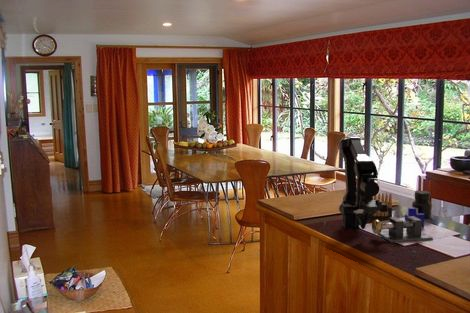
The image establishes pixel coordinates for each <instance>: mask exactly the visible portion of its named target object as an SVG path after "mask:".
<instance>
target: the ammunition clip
mask: <svg viewBox="0 0 470 313" xmlns="http://www.w3.org/2000/svg"><path fill="white" fill-rule="evenodd" d="M392 199H393V198H392V193H389V195H388V193H387V192H386V194H384V193H382V194H380V192H378V194H377V195H375V196H373V200H381V201H382V203H384V204H386V205H387V206H388V212H380V211H379V210H377V213H374V214H373V215H371V216H370V217H369V219H372V220H379V219H381V220H382V219H388V220H389V218H392V217H393V202H392ZM369 219H368V220H369Z"/></svg>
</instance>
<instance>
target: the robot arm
mask: <svg viewBox="0 0 470 313" xmlns="http://www.w3.org/2000/svg"><path fill="white" fill-rule="evenodd" d="M361 140H362V139H361V137H359V136H349V137H347V138H342V139H341V140H339V141H338V149H339V153H340V155H341V156H342V158H343V159H344V176H345V178H344V179H345V191H346V192H345V193H344V195H343V196H342V201H341V204H340V205H339V207H338V212H339V214H341V215H342V223H341V224H340V225H341V227H343V228H344V229H345V230H353V229H354V230H358V229H362V230H364V229H365V228H366V225H367V223H368V221H369V217H370V216H371V215H373V214H374V213H377V210H379V211H380V212H388V206H387V205H386V204H385V202H384V203H382V201H381V199H380V200H378V199H377V200H374V196H375V195H376V196H378V194H379V193H380V186H379V184H378V183H377V182H376V181H375V179H378V176H379V172H378V169H377V165H376V163H375V162H374V160H373V159H372V157H370V156H368V155H367V154H366V151H365V149H364V147H363V145H362V143H361V142H362V141H361Z"/></svg>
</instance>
